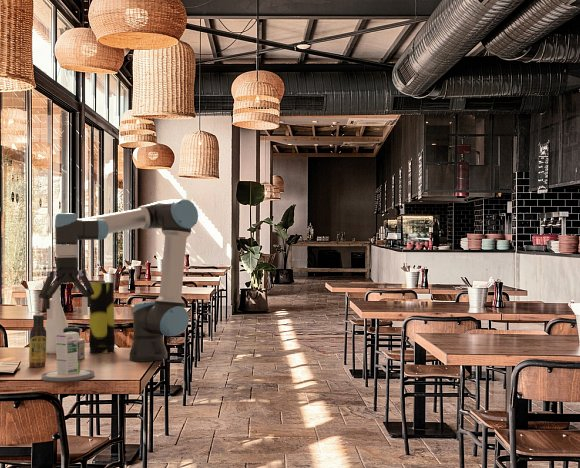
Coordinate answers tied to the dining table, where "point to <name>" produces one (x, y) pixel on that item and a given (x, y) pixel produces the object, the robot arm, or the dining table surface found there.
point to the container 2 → (102, 318)
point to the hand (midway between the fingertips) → (67, 316)
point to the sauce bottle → (37, 343)
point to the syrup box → (67, 353)
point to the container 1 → (81, 341)
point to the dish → (67, 376)
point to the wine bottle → (55, 323)
